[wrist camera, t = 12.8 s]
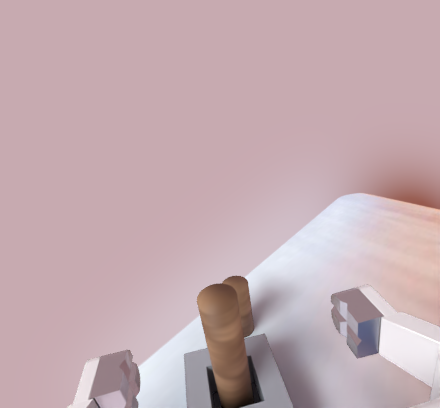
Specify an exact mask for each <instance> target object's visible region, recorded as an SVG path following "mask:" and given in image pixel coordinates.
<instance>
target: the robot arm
mask: <svg viewBox="0 0 440 408" xmlns="http://www.w3.org/2000/svg"><path fill="white" fill-rule="evenodd" d="M331 302H332V304H333V305H334V307H333V309H332V310H331V312H332V319H333V322H334V325H335V327H336V329H337V330H338V332H339V333H340V334H341V335H343V336H345V337H347V345H348V346H349V348H350V349H351V350H352V352H353V353H354V355H355V356H356V358H361V357H365V356H369V355H373V354H377V353H379V355H381V356H382V357H384V358H386V359H387V360H389V361H390V362H392V363H393V364H395V365H397V366H398V367H400V368H401V369H403V370H405V371H406V372H408V373H409V374H411V375H412V376H414V377H416V378H417V379H419V380H420V381H422V382H424V383H425V384H427V385H428V386H430V387H431V388H432V389H431V394H430V400H429V401H427V402H424V403H421V404H417V405H414V406H411V407H408V408H440V327H439V326H437V325H434V324H432V323H429V322H426V321H424V320H421V319H419V318H416V317H414V316H411V315H409V314H406V313H404V312H399V313H398V312H397V311H396V310H395V309H394V308H393V307H392V306H391V305H390V304H389V303H388V302H387V301H386V300H385V299H384V298H383V297H382V296H381V295H379V294H378V293H377V292H376V291H375V290H374V289H373V288H372V287H371V286H370V285H368V284H367V285H363V286H360V287H356V288H352V289H349V290H345V291H342V292H338V293H335V294H332V296H331ZM132 358H133V355H132V353H131V351H130V350H125V351H121V352H117V353H113V354H109V355H105V356H101V357H97V358H94V359H89V360H88V361H87V362H86V364H85V367H84V370H83V374H82V376H81V380H80V383H79V386H78V389H77V393H76V396H75V399H74V403H73V404H72V405H69V406H68V407H67V408H138V401H137V399H136V396H137V394H138V393H139V391H140V374H139V370H138V367H137V364H135V363H133V362H132Z"/></svg>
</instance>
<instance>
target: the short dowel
mask: <svg viewBox="0 0 440 408" xmlns="http://www.w3.org/2000/svg"><path fill="white" fill-rule="evenodd" d="M222 284H227V285H230V286H232V287H233V288H234V289H235V290H236V292H237V297H238V303H239V310H240V316H241V322H242V329H243V335H244V337H247V336H249V335H250V334H251V333H252V332H253V330H254V323H253V316H252V309H251V302H250V295H249V287H248V281H247V280H246V279H245V278H244V277H241V276H232V277H229V278H227V279H225V280H224V281H223V283H222Z"/></svg>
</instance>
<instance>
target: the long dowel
mask: <svg viewBox="0 0 440 408" xmlns="http://www.w3.org/2000/svg"><path fill="white" fill-rule="evenodd" d="M197 303H198V307H199V312H200V316H201V321H202V325H203V329H204V334H205V338H206V342H207V347H208V351H209V355H210V360H211V364H212V368H213V372H214V377H215V381H216V385H217V390H218V394H219V398H220V403H221V407H222V408H241V407H244V406H248V405H252V404H254V397H253V391H252V385H251V379H250V372H249V366H248V360H247V354H246V347H245V341H244V335H243V329H242V322H241V316H240V310H239V303H238V297H237V292H236V290H235V289H234V288H233V287H232V286H230V285H227V284H213V285H210V286H208V287H206V288H205V289H203V290H202V291H201V292H200V293H199V295H198V297H197Z"/></svg>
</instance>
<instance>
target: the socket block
mask: <svg viewBox="0 0 440 408" xmlns="http://www.w3.org/2000/svg"><path fill="white" fill-rule="evenodd" d="M244 341H245V347H246V354H247V360H248V366H249V372H250V379H251V383H252V382H255V384H256V387H257V391H258V394H259V397H260V401H261V402H259V403H255V404H252V405H248V406H244V407H241V408H294V407H293V405H292V402H291V400H290V397H289V394H288V392H287V389H286V387H285V384H284V382H283V379H282V377H281V374H280V372H279V369H278V366H277V364H276V361H275V359H274V356H273V354H272V351H271V349H270V346H269V344H268V341H267V339H266V336H265V334H261V335H257V336H253V337H249V338H245V339H244ZM184 362H185V380H186V398H187V408H215V407H214V400H213V393H214V392H218V390H217V385H216V381H215V377H214V372H213V368H212V364H211V360H210V355H209V351H208V348H206V349H202V350H198V351H194V352H190V353H186V354H184Z"/></svg>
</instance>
